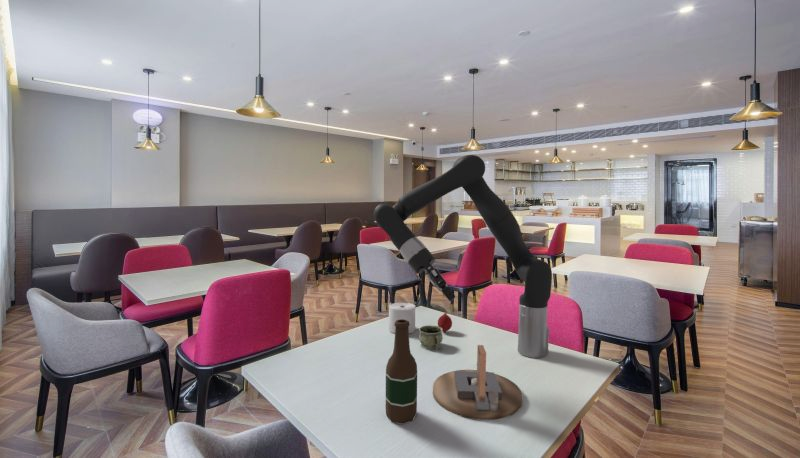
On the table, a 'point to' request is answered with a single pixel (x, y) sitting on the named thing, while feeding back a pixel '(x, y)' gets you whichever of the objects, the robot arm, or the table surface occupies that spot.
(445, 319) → the red oval fruit
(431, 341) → the vessel
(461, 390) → the handled square nut
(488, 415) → the post base
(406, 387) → the beer bottle
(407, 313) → the toilet tissue
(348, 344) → the table surface
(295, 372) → the table surface
